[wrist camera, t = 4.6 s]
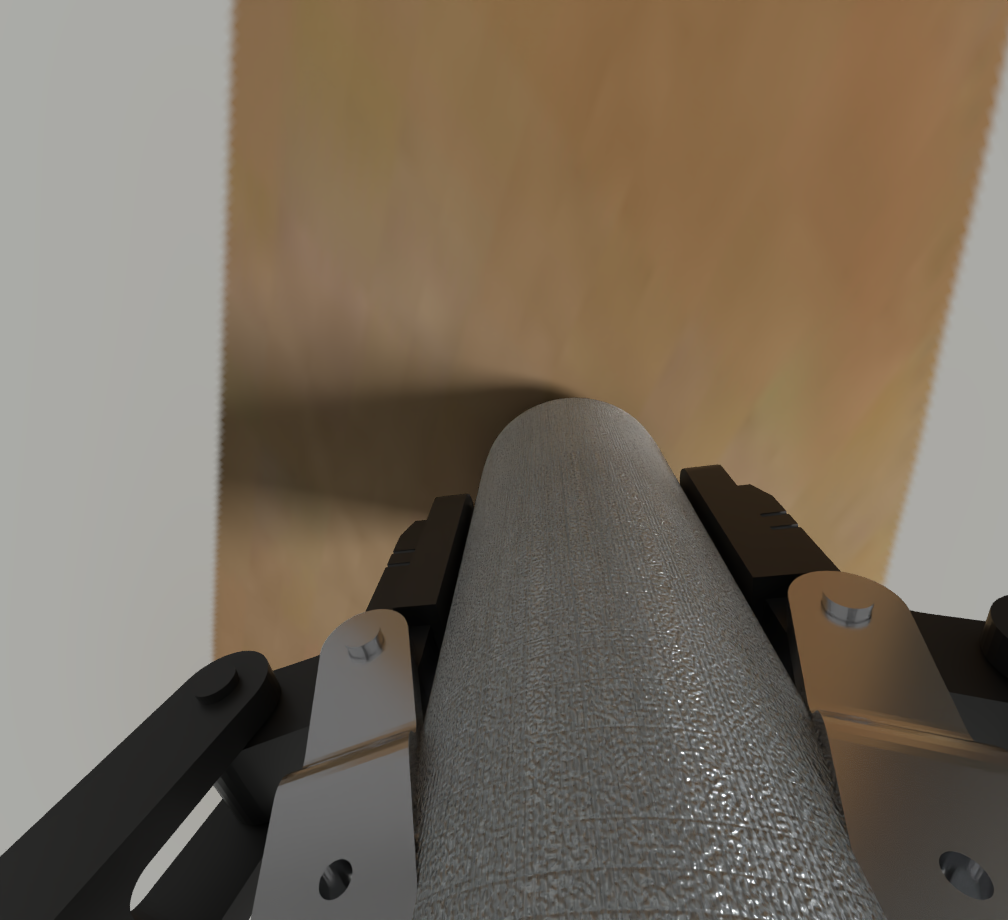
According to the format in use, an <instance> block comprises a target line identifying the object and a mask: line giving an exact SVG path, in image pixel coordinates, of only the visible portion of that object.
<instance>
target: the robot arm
mask: <svg viewBox="0 0 1008 920" xmlns="http://www.w3.org/2000/svg"><path fill="white" fill-rule="evenodd" d="M680 486H681V487H682V489H683V491H684V493H685V494H686V496H687V498H688V500H689V501H690V503H691V505H692V507H693V508H694V510H695V512H696V514H697V515H698V517H699V519H700V521H701V522H702V524H703V526H704V528H705V529H706V531H707V533H708V535H709V536H710V538H711V540H712V542H713V543H714V545H715V547H716V549H717V550H718V552H719V554H720V556H721V557H722V559H723V561H724V562H725V564H726V566H727V568H728V569H729V571H730V573H731V575H732V576H733V578H734V580H735V582H736V583H737V585H738V587H739V589H740V590H741V592H742V594H743V596H744V597H745V599H746V601H747V603H748V604H749V606H750V608H751V610H752V611H753V613H754V615H755V617H756V618H757V620H758V622H759V624H760V625H761V627H762V629H763V631H764V632H765V634H766V636H767V638H768V639H769V641H770V643H771V645H772V646H773V648H774V650H775V652H776V653H777V655H778V657H779V659H780V660H781V662H782V664H783V666H784V667H785V669H786V671H787V673H788V674H789V676H790V678H791V680H792V681H793V683H794V685H795V686H796V688H797V690H798V692H799V694H800V695H801V697H802V699H803V701H804V703H805V706H806V708H807V710H808V713H809V715H810V718H811V720H812V723H813V726H814V729H815V731H816V734H817V737H818V740H819V743H820V746H821V749H822V752H823V755H824V758H825V761H826V765H827V768H828V771H829V774H830V778H831V781H832V784H833V788H834V791H835V794H836V797H837V801H838V804H839V808H840V811H841V815H842V818H843V822H844V825H845V829H846V832H847V836H848V839H849V842H850V846H851V849H852V852H853V854H854V856H855V858H856V860H857V862H858V864H859V866H860V867H861V869H862V871H863V873H864V875H865V877H866V879H867V881H868V883H869V885H870V887H871V889H872V891H873V893H874V895H875V897H876V899H877V901H878V903H879V905H880V907H881V909H882V911H883V912H884V914H885V916H886V918H887V920H1008V595H1007V596H1004V597H1001V598H999V599H998V600H996V601H995V602H994V603H993V605H992V606H991V608H990V611H989V614H988V617H987V620H986V621H979V620H971V619H964V618H956V617H949V616H941V615H934V614H927V613H920V612H915V611H911V610H909V608H908V607H907V605H906V604H905V603H904V601H902V599H901V598H900V597H899V596H897V595H896V594H895V593H893V592H892V591H891V590H889V589H888V588H886V587H885V586H883V585H881V584H879V583H877V582H875V581H872V580H870V579H867V578H865V577H861V576H858V575H855V574H850V573H846V572H841V571H840V570H839V569H838V568H837V567H836V566H835V565H834V564H833V562H832V561H831V560H830V559H829V558H828V557H827V556H826V555H825V554H824V552H823V551H822V550H821V549H820V548H819V547H818V546H817V545H816V544H815V542H814V541H813V540H812V539H811V538H810V537H809V536H808V535H807V534H806V532H805V531H804V530H803V529H802V528H801V527H798V524H797V522H796V521H795V520H794V519H793V518H792V517H791V516H790V515H789V514H787V513H786V510H785V509H784V508H783V507H782V506H781V505H780V504H779V503H778V501H777V500H776V499H775V498H774V497H773V496H772V495H770V494H768V493H766V492H764V491H762V490H760V489H758V488H756V487H754V486H752V485H751V484H749V485H740V486H737V485H736V484H735V482H734V481H733V480H732V479H731V477H730V476H729V475H728V474H727V472H726V471H725V470H724V469H723V467H722V466H721V465H710V466H701V467H693V468H684V469H682V470H681V473H680ZM473 511H474V506H473V502H472V499H471V496H470V495H469V494H460V495H451V496H443V497H436V498H435V500H434V503H433V506H432V508H431V511H430V513H429V516H428V518H427V520H422V521H415V522H414V523H413V524H412V525H411V526H410V527H409V528H408V529H407V530H406V531H405V532H404V533H403V534H402V535H401V536H400V538H399V540H398V542H397V544H396V546H395V549H394V551H393V552H394V554H392V555H391V557H390V559H389V562H388V564H387V565H388V567H386V568H385V570H384V573H383V575H382V577H381V579H380V581H379V583H378V586H377V588H376V590H375V592H374V594H373V596H372V599H371V601H370V603H369V605H368V607H367V609H366V612H364V613H361V614H358V615H356V616H354V617H352V618H350V619H348V620H347V621H345V622H344V623H342V624H341V625H340V626H338V627H337V628H336V629H335V630H334V631H333V632H332V633H331V634H330V636H329V637H328V638H327V640H326V641H325V643H324V645H323V647H322V649H321V653H320V655H318V656H316V657H313V658H310V659H307V660H304V661H301V662H298V663H295V664H292V665H289V666H286V667H283V668H280V669H277V670H274V671H273V670H272V669H271V667H270V665H269V663H268V661H267V659H266V658H265V656H264V655H262V654H261V653H258V652H255V651H241V652H236V653H233V654H230V655H227V656H224V657H222V658H220V659H218V660H216V661H214V662H212V663H210V664H208V665H207V666H205V667H204V668H202V669H201V670H200V671H198V672H197V673H195V674H194V675H193V676H192V677H191V678H190V679H188V680H187V681H186V682H185V683H184V684H183V685H182V686H181V687H180V688H179V689H178V690H177V691H176V692H175V693H174V694H173V695H172V696H171V697H169V698H168V699H167V700H166V701H165V702H164V703H163V704H162V705H161V706H160V707H159V708H158V709H157V710H156V711H154V712H153V713H152V714H151V715H150V716H149V717H148V718H147V719H146V720H145V721H144V722H143V723H142V724H141V725H140V726H139V727H138V728H136V729H135V730H134V731H133V732H132V733H131V734H130V735H129V736H128V737H127V738H126V739H125V740H124V741H123V742H122V743H120V744H119V745H118V746H117V747H116V748H115V749H114V750H113V751H112V752H111V753H110V754H109V755H108V756H107V757H106V758H105V759H103V760H102V761H101V762H100V763H99V764H98V765H97V766H96V767H95V768H94V769H93V770H92V771H91V772H90V773H89V774H88V775H86V776H85V777H84V778H83V779H82V780H81V781H80V782H79V783H78V784H77V785H76V786H75V787H74V788H73V789H72V790H71V791H70V792H68V793H67V794H66V795H65V796H64V797H63V798H62V799H61V800H60V801H59V802H58V803H57V804H56V805H55V806H54V807H52V808H51V809H50V810H49V811H48V812H47V813H46V814H45V815H44V816H43V817H42V818H41V819H40V820H39V821H38V822H37V823H35V825H33V826H32V827H31V828H30V829H29V830H28V831H27V832H26V833H25V834H24V835H23V836H22V837H21V838H20V839H19V840H18V841H16V842H15V843H14V844H13V845H12V846H11V847H10V848H9V849H8V850H7V851H6V852H5V853H4V854H3V855H1V857H0V920H249V918H250V916H251V915H252V916H251V920H412V918H413V913H414V908H415V902H416V897H417V891H418V882H417V802H418V767H419V750H420V739H421V733H422V727H423V723H424V719H425V715H426V710H427V706H428V702H429V698H430V693H431V689H432V685H433V681H434V676H435V672H436V668H437V664H438V659H439V655H440V651H441V647H442V642H443V638H444V634H445V630H446V625H447V621H448V617H449V613H450V608H451V604H452V600H453V596H454V591H455V587H456V583H457V579H458V574H459V570H460V566H461V562H462V557H463V553H464V549H465V545H466V540H467V536H468V532H469V528H470V523H471V519H472V515H473ZM212 786H214V787H215V788H216V789H217V791H218V793H219V794H220V796H221V797H222V798H223V799H222V800H221V802H220V803H219V804H218V805H217V807H216V808H215V809H214V810H213V812H212V813H211V814H210V815H209V817H208V818H207V819H206V821H205V822H204V823H203V824H202V826H201V827H200V828H199V829H198V831H197V832H196V833H195V835H194V836H193V837H192V838H191V840H190V841H189V842H188V843H187V845H186V846H185V847H184V848H183V850H182V851H181V852H180V853H179V855H178V856H177V857H176V859H175V860H174V861H173V862H172V864H171V865H170V866H169V868H168V869H167V870H166V871H165V873H164V874H163V875H162V876H161V877H160V879H159V880H158V881H157V883H156V884H155V885H154V886H153V888H152V889H151V890H150V891H149V893H148V894H147V895H146V896H145V898H144V899H143V900H142V901H141V902H140V903H139V904H138V906H136V907H135V909H133V910H132V911H131V912H130V900H131V895H132V892H133V889H134V887H135V885H136V882H137V880H138V878H139V877H140V875H141V874H142V872H143V870H144V869H145V867H146V866H147V865H148V864H149V862H150V861H151V860H152V859H153V858H154V856H155V855H156V854H157V853H158V851H159V850H160V849H161V848H162V847H163V845H164V844H165V843H166V842H167V841H168V839H169V838H170V837H171V836H172V834H173V833H174V832H175V831H176V830H177V828H178V827H179V826H180V825H181V823H182V822H183V821H184V820H185V819H186V818H187V816H188V815H189V814H190V813H191V811H192V810H193V809H194V807H195V806H196V805H197V804H198V803H199V802H200V801H201V799H202V798H203V797H204V796H205V795H206V793H207V792H208V791H209V790H210V788H211V787H212Z"/></svg>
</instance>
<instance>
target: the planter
mask: <svg viewBox="0 0 1008 920" xmlns="http://www.w3.org/2000/svg"><path fill="white" fill-rule="evenodd" d="M417 882H418V891H417V897H416V902H415V908H414V913H413V918H412V920H887V918H886V916H885V914H884V912H883V911H882V909H881V907H880V905H879V903H878V901H877V899H876V897H875V895H874V893H873V891H872V889H871V887H870V885H869V883H868V881H867V879H866V877H865V875H864V873H863V871H862V869H861V867H860V866H859V864H858V862H857V860H856V858H855V856H854V854H853V852H852V849H851V846H850V842H849V839H848V836H847V832H846V829H845V825H844V822H843V818H842V815H841V811H840V808H839V804H838V801H837V797H836V794H835V791H834V788H833V784H832V781H831V778H830V774H829V771H828V768H827V765H826V761H825V758H824V755H823V752H822V749H821V746H820V743H819V740H818V737H817V734H816V731H815V729H814V726H813V723H812V720H811V718H810V715H809V713H808V710H807V708H806V706H805V703H804V701H803V699H802V697H801V695H800V694H799V692H798V690H797V688H796V686H795V685H794V683H793V681H792V680H791V678H790V676H789V674H788V673H787V671H786V669H785V667H784V666H783V664H782V662H781V660H780V659H779V657H778V655H777V653H776V652H775V650H774V648H773V646H772V645H771V643H770V641H769V639H768V638H767V636H766V634H765V632H764V631H763V629H762V627H761V625H760V624H759V622H758V620H757V618H756V617H755V615H754V613H753V611H752V610H751V608H750V606H749V604H748V603H747V601H746V599H745V597H744V596H743V594H742V592H741V590H740V589H739V587H738V585H737V583H736V582H735V580H734V578H733V576H732V575H731V573H730V571H729V569H728V568H727V566H726V564H725V562H724V561H723V559H722V557H721V556H720V554H719V552H718V550H717V549H716V547H715V545H714V543H713V542H712V540H711V538H710V536H709V535H708V533H707V531H706V529H705V528H704V526H703V524H702V522H701V521H700V519H699V517H698V515H697V514H696V512H695V510H694V508H693V507H692V505H691V503H690V501H689V500H688V498H687V496H686V494H685V493H684V491H683V489H682V487H681V486H680V484H679V482H678V480H677V479H676V477H675V475H674V473H673V472H672V470H671V468H670V466H669V465H668V463H667V461H666V459H665V458H664V456H663V454H662V452H661V451H660V449H659V447H658V446H657V444H656V443H655V441H654V440H653V438H652V437H651V436H650V434H649V433H648V432H647V431H646V429H645V428H644V427H643V426H642V425H641V424H640V423H639V422H638V421H637V420H636V419H635V418H634V417H632V416H631V415H630V414H628V413H627V412H625V411H623V410H622V409H620V408H618V407H616V406H614V405H611V404H608V403H606V402H602V401H598V400H594V399H587V398H564V399H557V400H552V401H548V402H545V403H542V404H539V405H537V406H535V407H532V408H530V409H528V410H526V411H525V412H523V413H522V414H520V415H519V416H517V417H516V418H515V419H514V420H512V421H511V422H510V423H509V424H508V425H507V426H506V427H505V428H504V429H503V430H502V431H501V433H500V434H499V435H498V437H497V438H496V440H495V442H494V443H493V445H492V447H491V449H490V452H489V454H488V457H487V460H486V463H485V465H484V469H483V472H482V477H481V481H480V485H479V489H478V494H477V498H476V502H475V506H474V511H473V515H472V519H471V523H470V528H469V532H468V536H467V540H466V545H465V549H464V553H463V557H462V562H461V566H460V570H459V574H458V579H457V583H456V587H455V591H454V596H453V600H452V604H451V608H450V613H449V617H448V621H447V625H446V630H445V634H444V638H443V642H442V647H441V651H440V655H439V659H438V664H437V668H436V672H435V676H434V681H433V685H432V689H431V693H430V698H429V702H428V706H427V710H426V715H425V719H424V723H423V727H422V733H421V739H420V750H419V767H418V802H417Z"/></svg>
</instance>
